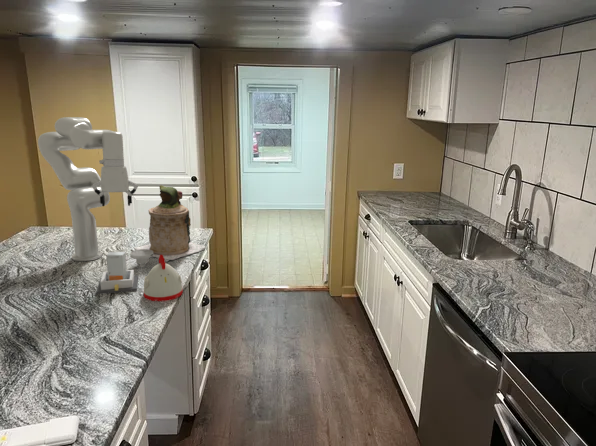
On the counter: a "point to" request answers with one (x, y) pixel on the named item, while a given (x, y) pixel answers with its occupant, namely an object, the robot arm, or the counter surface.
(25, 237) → the counter surface
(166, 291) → the kitchen timer
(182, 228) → the cookie jar
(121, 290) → the socket
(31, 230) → the counter surface
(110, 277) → the skincare box
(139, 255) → the showerhead
